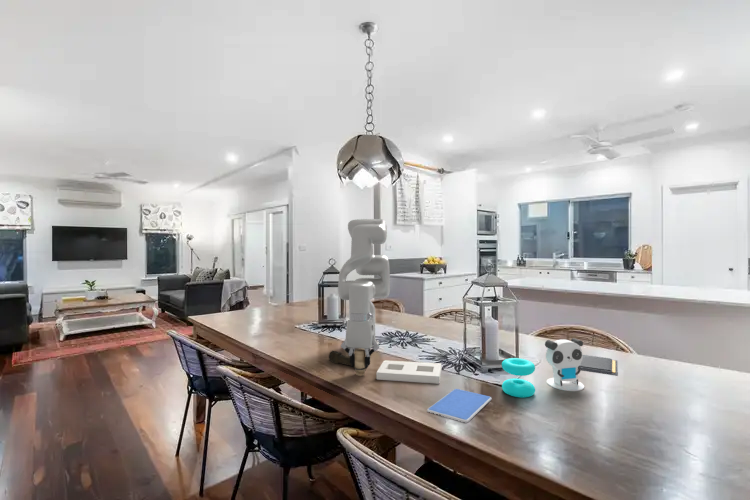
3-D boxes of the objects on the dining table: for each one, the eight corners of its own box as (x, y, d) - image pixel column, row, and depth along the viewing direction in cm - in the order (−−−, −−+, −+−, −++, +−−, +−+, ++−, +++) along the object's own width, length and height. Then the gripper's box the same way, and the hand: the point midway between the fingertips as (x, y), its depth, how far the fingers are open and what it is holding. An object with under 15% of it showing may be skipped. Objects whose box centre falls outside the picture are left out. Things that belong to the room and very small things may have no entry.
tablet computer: (467, 425, 101) (467, 420, 101) (425, 413, 109) (425, 408, 109) (492, 400, 117) (492, 396, 117) (454, 391, 124) (454, 387, 124)
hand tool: (369, 368, 148) (368, 356, 148) (362, 371, 144) (362, 359, 144) (333, 359, 159) (333, 348, 159) (327, 362, 156) (326, 350, 156)
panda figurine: (558, 392, 121) (558, 345, 121) (538, 379, 133) (537, 336, 132) (592, 389, 123) (592, 343, 123) (569, 377, 134) (569, 335, 134)
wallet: (576, 352, 160) (619, 358, 152) (576, 356, 160) (619, 362, 152) (569, 365, 144) (617, 372, 135) (569, 370, 144) (617, 377, 135)
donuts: (502, 355, 128) (534, 358, 124) (502, 385, 128) (534, 388, 125) (501, 364, 119) (535, 368, 115) (501, 396, 119) (536, 400, 115)
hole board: (384, 366, 149) (384, 360, 148) (441, 370, 144) (441, 363, 144) (376, 379, 135) (376, 372, 135) (439, 383, 130) (439, 376, 130)
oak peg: (356, 372, 143) (356, 348, 143) (367, 372, 142) (366, 348, 142) (353, 375, 139) (353, 351, 139) (364, 376, 138) (364, 351, 138)
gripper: (384, 315, 142) (384, 364, 142) (340, 314, 145) (341, 361, 146) (379, 319, 134) (380, 371, 135) (334, 318, 138) (334, 368, 138)
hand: (360, 365), depth 140 cm, fingers open, 4 cm apart
